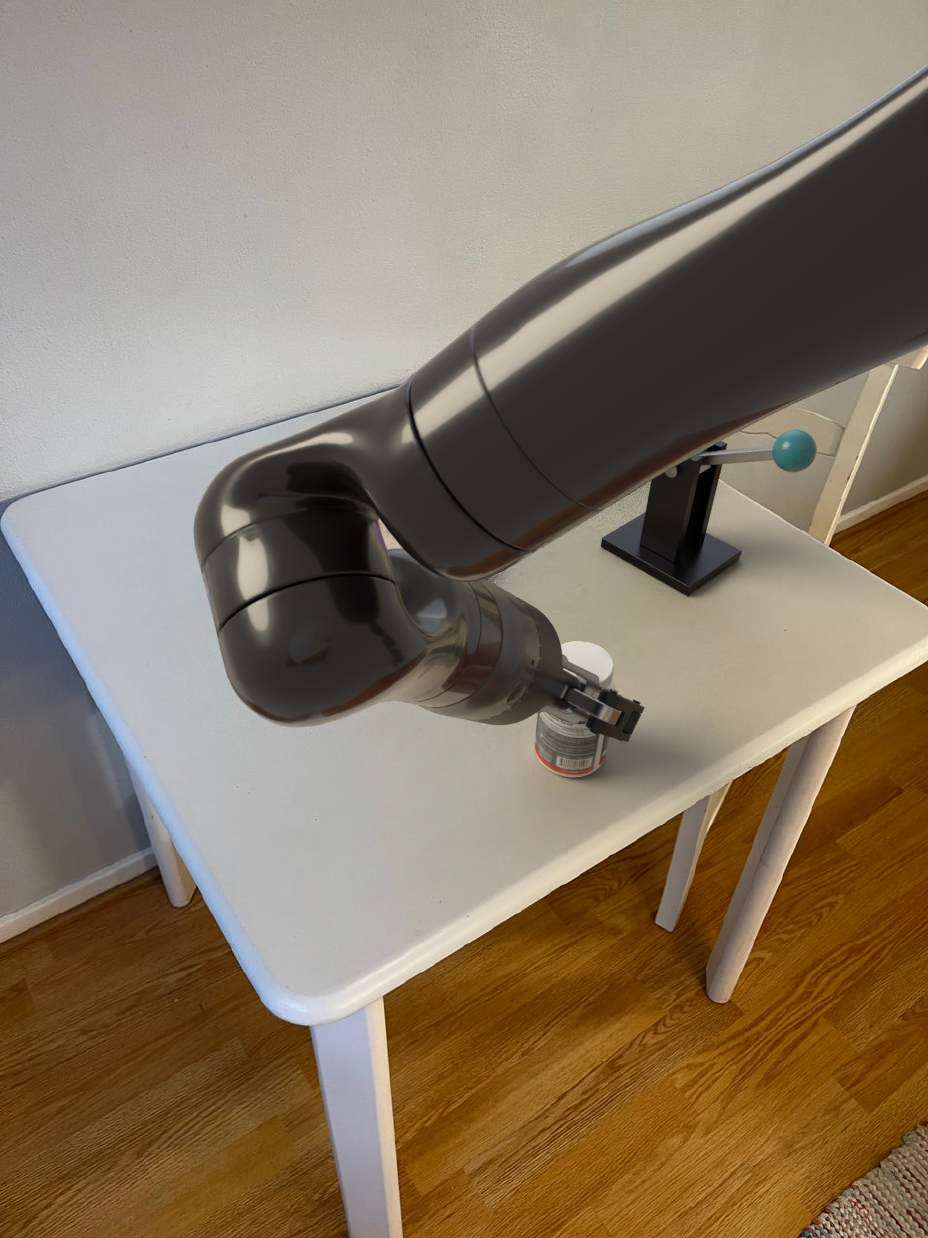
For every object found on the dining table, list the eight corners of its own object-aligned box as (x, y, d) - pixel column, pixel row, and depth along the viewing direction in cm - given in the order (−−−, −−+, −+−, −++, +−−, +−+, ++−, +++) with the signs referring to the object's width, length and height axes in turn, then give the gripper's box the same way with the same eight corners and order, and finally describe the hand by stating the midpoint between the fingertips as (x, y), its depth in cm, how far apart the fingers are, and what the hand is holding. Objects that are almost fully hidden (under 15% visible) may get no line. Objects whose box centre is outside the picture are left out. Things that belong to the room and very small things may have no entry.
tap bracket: (739, 560, 92) (770, 449, 84) (687, 596, 87) (714, 483, 79) (653, 515, 98) (674, 407, 90) (600, 547, 93) (616, 436, 85)
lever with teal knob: (828, 462, 77) (820, 421, 76) (806, 477, 75) (798, 435, 74) (692, 472, 88) (684, 436, 87) (670, 485, 86) (661, 449, 85)
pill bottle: (565, 715, 75) (578, 625, 68) (619, 753, 72) (638, 662, 65) (518, 751, 71) (527, 660, 65) (573, 792, 68) (587, 701, 62)
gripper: (618, 642, 46) (678, 680, 60) (402, 541, 52) (503, 597, 67) (553, 774, 46) (629, 780, 60) (345, 658, 52) (459, 688, 67)
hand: (563, 684), depth 63 cm, fingers open, 8 cm apart
